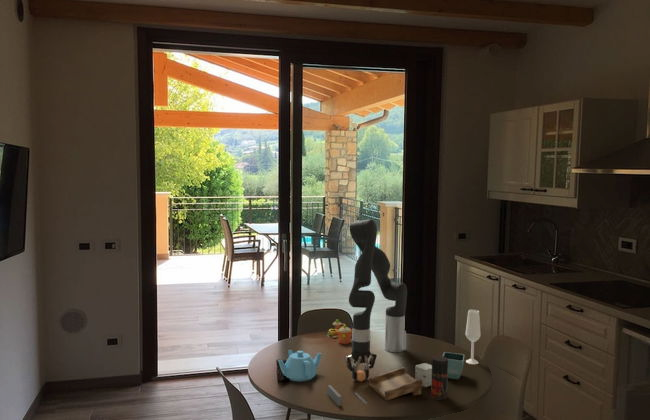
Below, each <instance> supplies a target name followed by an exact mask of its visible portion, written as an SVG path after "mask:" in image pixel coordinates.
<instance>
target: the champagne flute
mask: <svg viewBox="0 0 650 420" xmlns="http://www.w3.org/2000/svg"><path fill="white" fill-rule="evenodd" d="M480 320H481V319H480V310H477V309H469V310H467V318H466V327H465V334H464V335H465V336H466V339H467V340H468V341H470V342H471V343H470V344H471V345H470V348H471V349H470V358H469V359H466V360H465V363H467V364H469V365H478V364H479V362H478V360H476V359H475V358H474V357H475V355H474V354H475V343H476V342H477V341H478V340H479V339H480V338H481V334H482V333H481V321H480Z"/></svg>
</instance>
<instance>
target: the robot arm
mask: <svg viewBox="0 0 650 420" xmlns="http://www.w3.org/2000/svg"><path fill="white" fill-rule="evenodd" d="M349 233H350V237H351V238H352V240H353V242H354V243H355V245H356V246H357V248H358V249H359V250H360V252H361V253H360V255H359V257H358V259H356V260H357V261H356V263H355V266H354V277H353V278H354V280H353V284H352V287H351V291H350V292H349V296H348V303H349V305H350V306H351V307H352V308H364V310H363V311H359V312H355V313H354V314H353V316H352V329H353V330H352V337H351V353H350V355H345V356H344V359H345V360H344V361H345V363H346V367H347V369H348V370H349V372H351V378H352V379H353V381H355V382H356V381H358V380H357V371H358V368H359V367H360V364H363V367H364V369H363V371H364V372H365V374H366V378H365V380H369V377H370V370H372V369H374V367H375V364H376V363H375V362H376V359H377V356H378V355H377V354H376V353H375V352H371V338H372V337H371V316H372V310H373V307H374V305H375V300H376V295H375V293H374V292H373V290H363V289H362V288H366V287H369V286H370V285H371V283H372V273H373V275H374V277H375V279H376V282H377V283H378V286H379V288H380V292H381V294H382V296H383V298H384V299H386V300H388V301H392V302H394V305H393V306H389V307H386V309H385V333H384V335H385V336H384V347H385V348H384V350H386V352H390V353H401V352H404V351H406V350H407V331H406V330H405V322H406V321H405V319H406V318H405V317H406V309H407V298H408V288H407V285H406V284H405V283H404V282H398V281H393V280H392V279H390V277H389V273H390V270H391V262H390V260H389V258H388V256H387V254H386V253H385V252H384V250H382V249H381V248H380V247H378V246H376V242H377V237H378V227H377V224H376V222H375V220H374V219H372V218H371V219H370V218H368V219H362V220H356V221H353V222H352V223H350V225H349Z"/></svg>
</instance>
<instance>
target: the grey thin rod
mask: <svg viewBox="0 0 650 420" xmlns="http://www.w3.org/2000/svg"><path fill="white" fill-rule="evenodd" d="M353 395H355V396H356V397H357V398H359V400H360V401H362V402H363V403H364V404H365V405H368V404H369V403H368V402H367V401H366V400H365V399H364V398H363V397H362V396H360V394H358V393H357V392H353Z"/></svg>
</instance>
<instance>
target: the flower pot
mask: <svg viewBox="0 0 650 420" xmlns="http://www.w3.org/2000/svg"><path fill="white" fill-rule="evenodd" d="M442 356H443V357H446V358H448V377H447V379H452V380H460V377H461V375H462V374H463V368H464V362H465V354H463V353H456V352H448V351H447V352H446V351H444V352H443V354H442Z"/></svg>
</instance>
